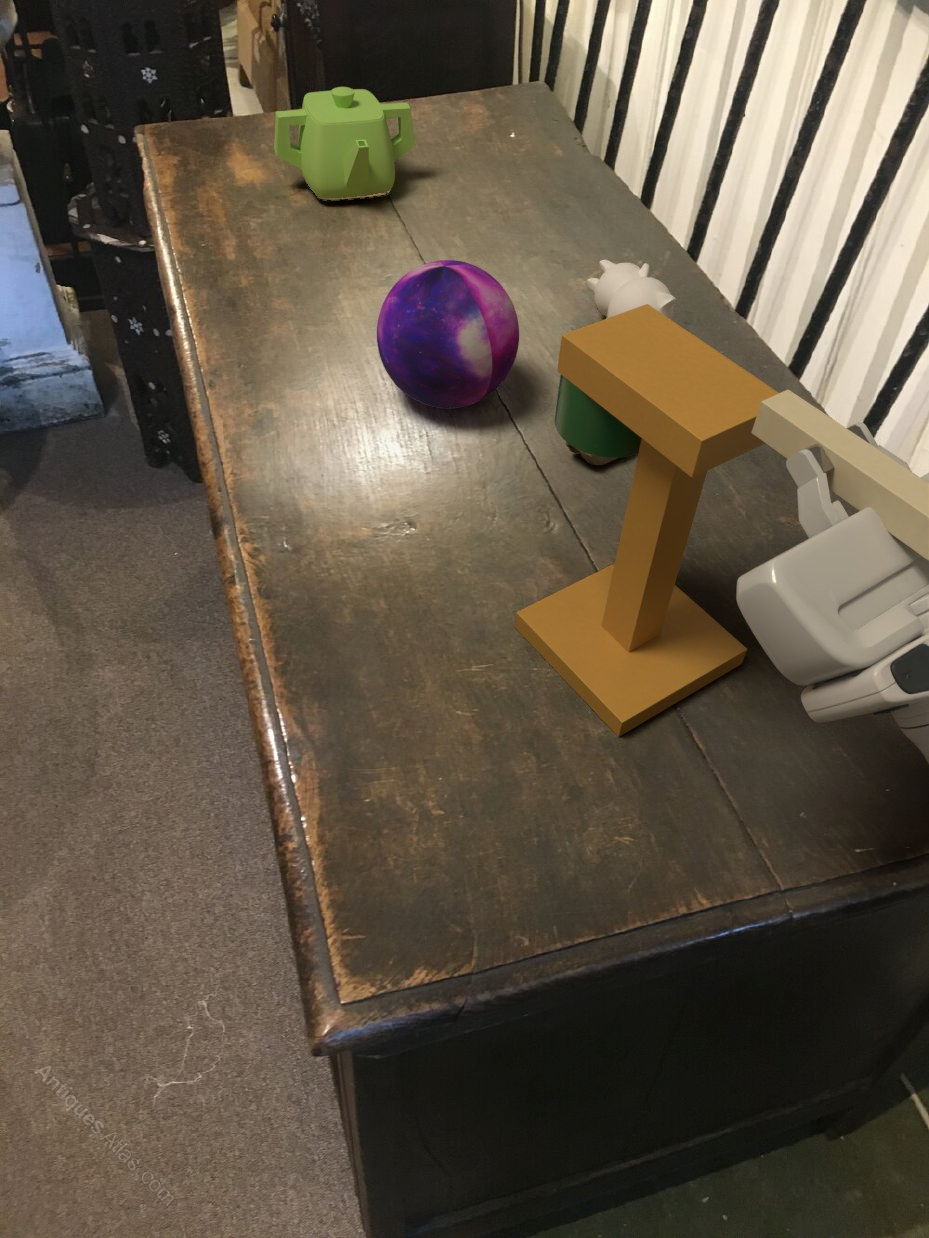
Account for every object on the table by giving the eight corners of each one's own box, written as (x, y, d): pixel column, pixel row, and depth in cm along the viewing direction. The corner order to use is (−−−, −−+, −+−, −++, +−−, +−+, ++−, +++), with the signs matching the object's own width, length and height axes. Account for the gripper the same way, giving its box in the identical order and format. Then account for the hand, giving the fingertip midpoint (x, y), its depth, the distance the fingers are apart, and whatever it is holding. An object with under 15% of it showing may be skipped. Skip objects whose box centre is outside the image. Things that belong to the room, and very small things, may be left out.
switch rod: (987, 568, 53) (1010, 530, 51) (955, 588, 52) (978, 550, 50) (778, 422, 61) (791, 384, 59) (747, 436, 60) (759, 399, 58)
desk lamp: (742, 664, 83) (845, 401, 63) (618, 737, 78) (689, 475, 58) (606, 541, 93) (659, 280, 73) (487, 599, 87) (509, 333, 67)
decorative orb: (452, 343, 115) (457, 220, 104) (541, 402, 108) (556, 276, 97) (351, 389, 108) (344, 262, 97) (438, 455, 101) (441, 326, 90)
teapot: (433, 214, 137) (435, 117, 127) (291, 228, 132) (282, 128, 123) (402, 159, 148) (401, 66, 139) (271, 170, 144) (261, 75, 134)
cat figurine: (609, 234, 115) (656, 281, 107) (667, 270, 121) (716, 316, 113) (566, 298, 119) (609, 347, 111) (625, 329, 125) (669, 378, 117)
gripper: (1095, 560, 57) (972, 361, 58) (869, 714, 49) (732, 478, 50) (1006, 591, 63) (896, 409, 64) (791, 734, 55) (669, 522, 56)
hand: (822, 440), depth 57 cm, fingers closed on switch rod, 2 cm apart
